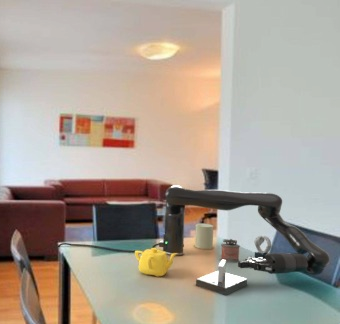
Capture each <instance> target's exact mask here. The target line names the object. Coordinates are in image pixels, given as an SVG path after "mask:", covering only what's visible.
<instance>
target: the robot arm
mask: <svg viewBox="0 0 340 324" xmlns="http://www.w3.org/2000/svg"><path fill="white" fill-rule="evenodd" d="M164 193H165V194H164V198H165V213H164V218H165V219H164V233H163V238H162V239H163V240H162V239H161V240H160V241H159V242H158V243H155V244H153V245H152V246H151V248H156V247H157V246H158V248H162V251H165V252H166V255H167V256H168V255H169V256H171V254H173V253H178V254H176V255H175V256H174V257H177V256H178V257H179V256H183V255H184V248H185V244H184V242H185V215H186V206H188V207H189V206H192V207H198V208H204V209H211V210H218V211H228V212H229V211H232V210H236V209H240V208H243V207H247V206H255V207H256V206H257V213H258V215H259V216H260V217H261V218H262V219H263V220H264V221H265V222H266V223H267V224H269V225H270V226H271V227H272V228H273V229H275V230H276V231H277V232H278V233H279V234H280V235H281V236H282V237H283V238H284V239H285V240H286V241H287V243H288V244H289V245H290V246H291V247H292V249H293V250H294V251H295V252H291V253H287V252H271V253H270V252H268V254H266V255H265V256H264V258H262V257H258V258H255V257H254V256H252V255H249V256H247V257H246V258H244V259H245V260H239V262H237V267H238V268H240V269H250V270H254V271H258V272H259V271H260V272H263V273H264V272H265V273H268V274H271V275H274V274H277V275H278V274H290V273H303V274H307V275H311V276H319V275H321V274H322V273H323V272H324V271H325V269H326V267H328V265H329V264H330V262H331V257H330V255H329V254H330V253H328V252H327V251H326V250H325V249H324V248H322V247H320V246H319V245H317V244H316V243H314V242H313V241H311V240H310V239H309V237H308V236H307V235H306V234H305V232H303V230H301V229H300V228H298V227H297V226H295V225H293V224H290V223H288V222H286V221H285V220H284V219H283V217H282V216H281V214H280V213H281V210H282V205H283V199H282V197H281V196H280V195H278V194H276V193H271V192H244V191H243V192H241V191H231V190H223V189H222V190H221V189H202V190H201V189H200V190H197V189H196V190H195V189H189V188H183V187H182V186H180V185H178V184H177V185H176V184H175V185H172V186H169V187H168V188H167V189H166V191H165V192H164ZM61 246H73V247H89V248H96V249H103V250H109V251H113V252H123V253H135V251H136V250H129V249H119V248H113V247H106V246H99V245H94V244H93V245H92V244H85V243H84V244H83V243H70V242H62V243H60V244H58V245H57V246H56V248H60V247H61ZM141 251H142V250H141ZM142 252H144V250H143V251H142ZM307 253H308V255H307V257H306V255H304V254H307Z"/></svg>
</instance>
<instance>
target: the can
mask: <svg viewBox="0 0 340 324" xmlns="http://www.w3.org/2000/svg"><path fill="white" fill-rule="evenodd" d="M214 227H215V226H214V225H213V224H210V223H196V224H195V236H194V237H195V238H194V248H197V249H200V250H213V248H214Z"/></svg>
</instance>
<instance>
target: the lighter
mask: <svg viewBox="0 0 340 324" xmlns="http://www.w3.org/2000/svg"><path fill="white" fill-rule="evenodd" d="M237 243H238V240H236V239H232V238H229V239H227V238H224V239H223V240H222V243H220V246H221V252H220V253H221V254H220V255H221V256H220V262H221V261H222V260H226V263H238V262H239V261H240V244H237Z"/></svg>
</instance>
